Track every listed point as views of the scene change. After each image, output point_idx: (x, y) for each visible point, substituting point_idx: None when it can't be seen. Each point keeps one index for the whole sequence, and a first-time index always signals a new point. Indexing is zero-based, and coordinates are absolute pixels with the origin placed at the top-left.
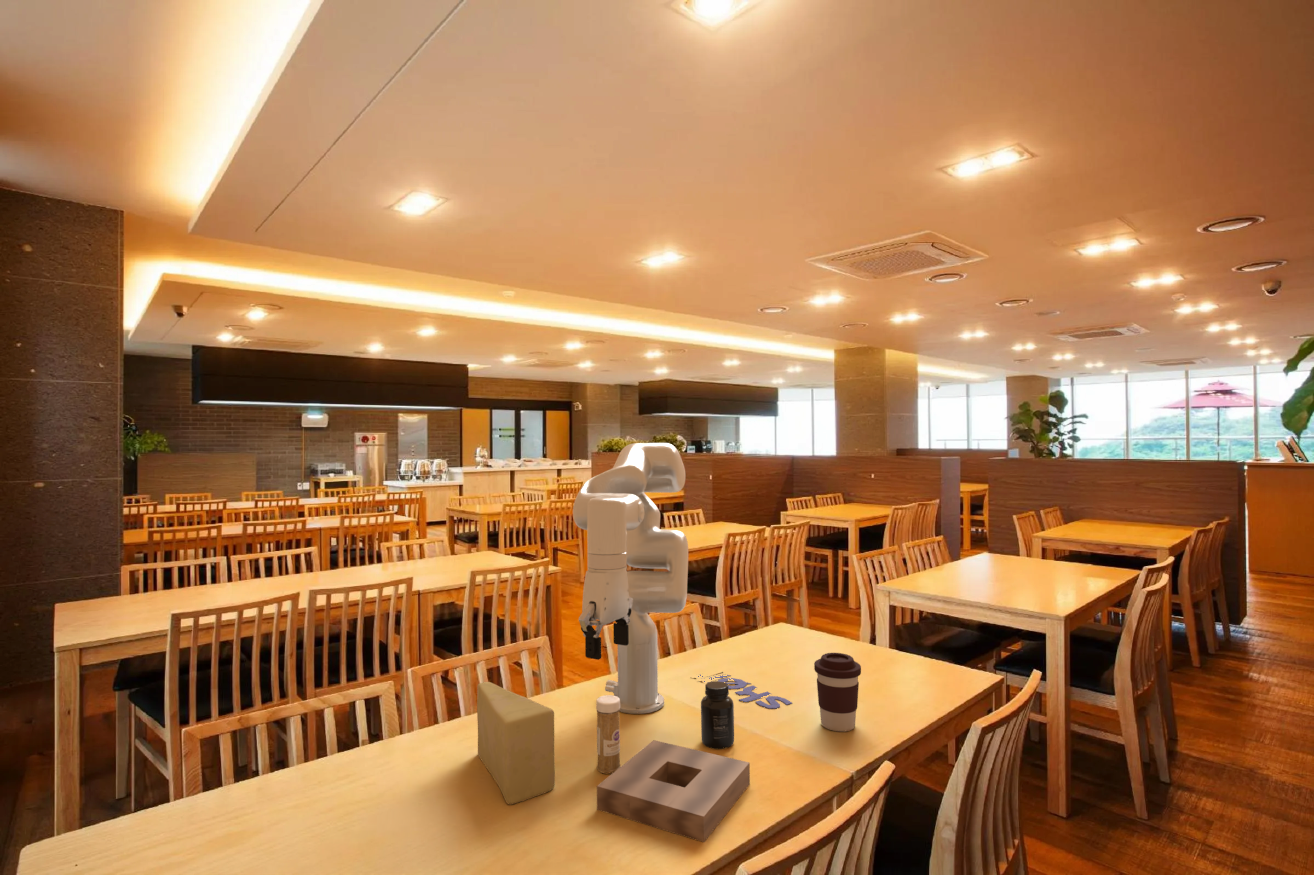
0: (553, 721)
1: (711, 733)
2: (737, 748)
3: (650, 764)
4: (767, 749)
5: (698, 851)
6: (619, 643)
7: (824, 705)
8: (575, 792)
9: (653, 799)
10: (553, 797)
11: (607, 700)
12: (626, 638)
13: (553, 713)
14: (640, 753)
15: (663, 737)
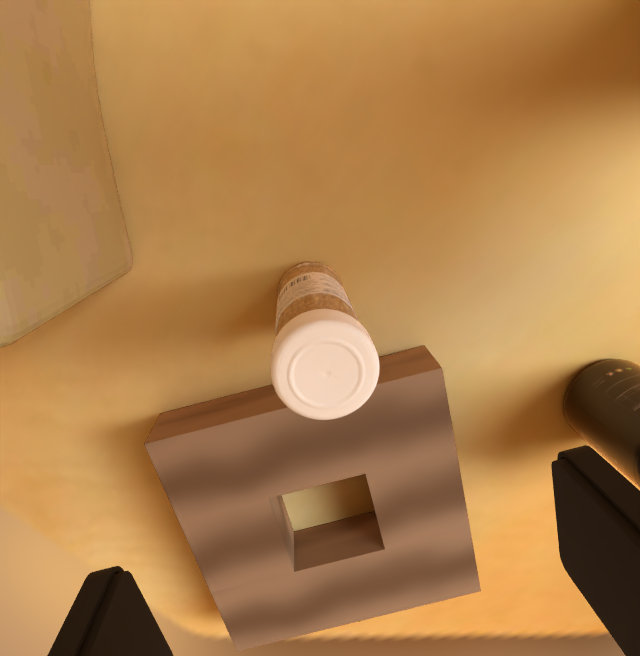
0: (29, 332)
1: (585, 430)
2: None
3: (322, 457)
4: None
5: (215, 613)
6: (560, 514)
7: None
8: (167, 321)
9: (207, 562)
10: (108, 299)
11: (310, 385)
12: (603, 620)
13: (10, 343)
14: None
15: (555, 268)
